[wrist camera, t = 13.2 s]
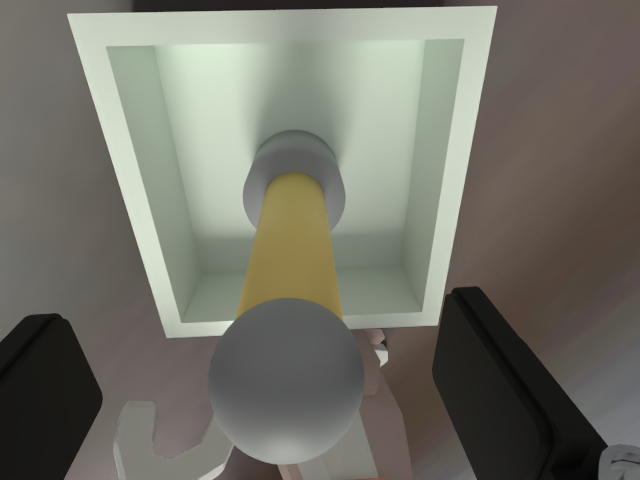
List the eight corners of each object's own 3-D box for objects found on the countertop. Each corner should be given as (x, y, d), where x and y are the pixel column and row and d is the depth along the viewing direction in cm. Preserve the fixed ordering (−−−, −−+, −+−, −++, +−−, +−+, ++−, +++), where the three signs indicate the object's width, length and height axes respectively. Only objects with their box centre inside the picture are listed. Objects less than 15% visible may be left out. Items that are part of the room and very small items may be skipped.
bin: (193, 279, 24) (166, 338, 20) (132, 21, 17) (66, 13, 12) (411, 270, 25) (437, 325, 20) (443, 15, 18) (497, 5, 13)
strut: (247, 131, 19) (109, 366, 5) (337, 127, 19) (431, 347, 5) (257, 213, 21) (180, 524, 8) (338, 209, 21) (404, 508, 8)
